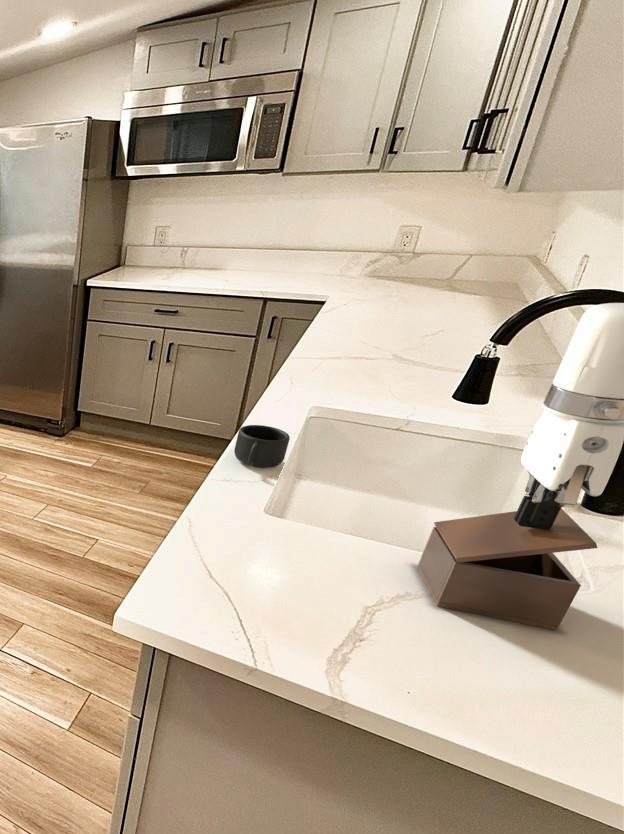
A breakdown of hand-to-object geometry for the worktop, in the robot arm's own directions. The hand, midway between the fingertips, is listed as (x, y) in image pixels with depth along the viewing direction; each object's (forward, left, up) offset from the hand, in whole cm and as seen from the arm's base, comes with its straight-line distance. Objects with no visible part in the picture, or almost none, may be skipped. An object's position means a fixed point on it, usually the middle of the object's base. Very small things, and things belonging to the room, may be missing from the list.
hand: (531, 524), depth 85 cm
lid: (+2, 0, -2) cm, 3 cm away
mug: (+28, -37, -13) cm, 48 cm away
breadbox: (+2, 0, -13) cm, 13 cm away
